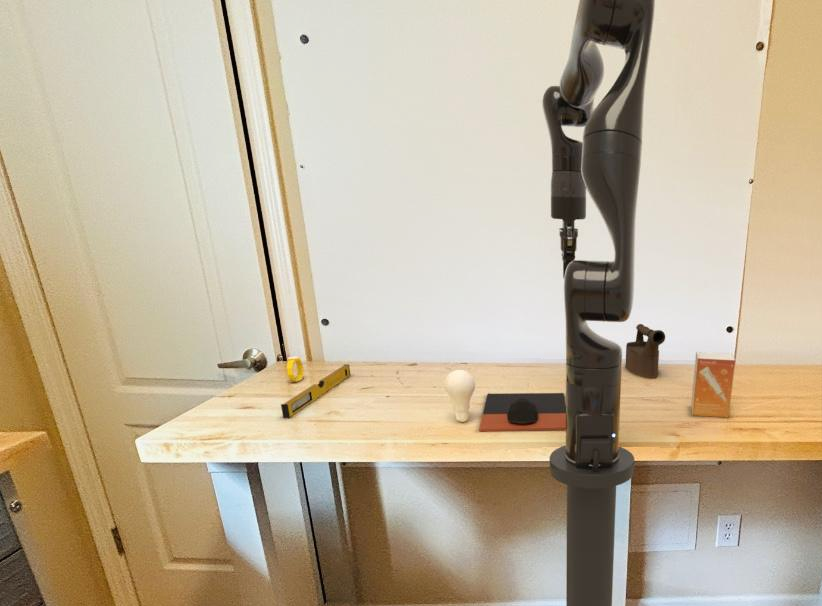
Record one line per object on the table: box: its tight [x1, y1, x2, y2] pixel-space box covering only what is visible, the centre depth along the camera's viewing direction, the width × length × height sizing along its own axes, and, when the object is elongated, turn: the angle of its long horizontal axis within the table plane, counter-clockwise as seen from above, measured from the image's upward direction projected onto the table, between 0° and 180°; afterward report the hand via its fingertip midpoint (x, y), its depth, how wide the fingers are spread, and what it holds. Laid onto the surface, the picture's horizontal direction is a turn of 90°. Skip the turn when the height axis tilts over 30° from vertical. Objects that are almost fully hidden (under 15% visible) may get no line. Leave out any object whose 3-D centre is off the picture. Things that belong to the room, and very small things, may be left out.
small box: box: [690, 351, 736, 419], centre depth 133 cm, size 8×6×13 cm
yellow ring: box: [286, 355, 304, 383], centre depth 150 cm, size 6×3×6 cm, turn 2°
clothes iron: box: [624, 323, 666, 379], centre depth 163 cm, size 8×16×13 cm, turn 13°
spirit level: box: [280, 364, 352, 419], centre depth 140 cm, size 33×1×3 cm, turn 0°
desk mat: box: [478, 392, 566, 432], centre depth 133 cm, size 24×18×1 cm
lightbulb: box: [443, 369, 476, 423], centre depth 124 cm, size 6×6×11 cm
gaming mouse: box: [507, 397, 538, 424], centre depth 128 cm, size 6×15×4 cm, turn 5°
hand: (568, 279), depth 135 cm, fingers closed
